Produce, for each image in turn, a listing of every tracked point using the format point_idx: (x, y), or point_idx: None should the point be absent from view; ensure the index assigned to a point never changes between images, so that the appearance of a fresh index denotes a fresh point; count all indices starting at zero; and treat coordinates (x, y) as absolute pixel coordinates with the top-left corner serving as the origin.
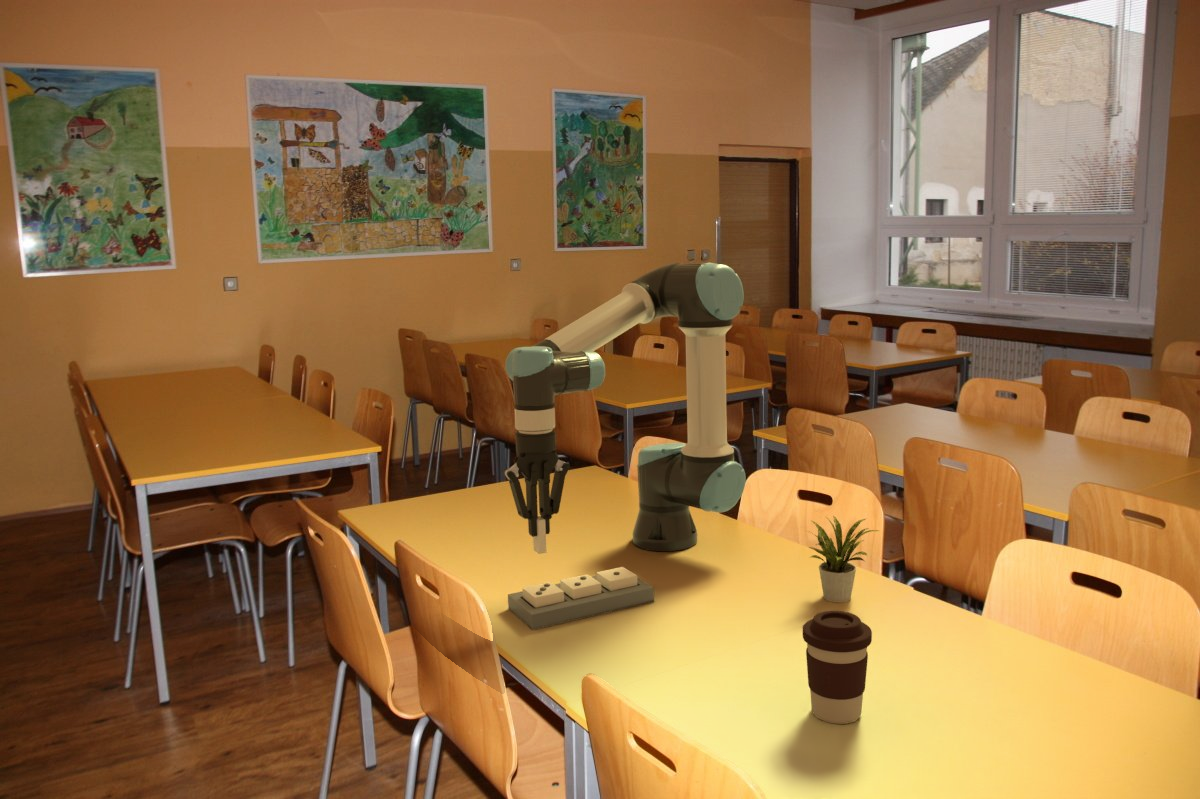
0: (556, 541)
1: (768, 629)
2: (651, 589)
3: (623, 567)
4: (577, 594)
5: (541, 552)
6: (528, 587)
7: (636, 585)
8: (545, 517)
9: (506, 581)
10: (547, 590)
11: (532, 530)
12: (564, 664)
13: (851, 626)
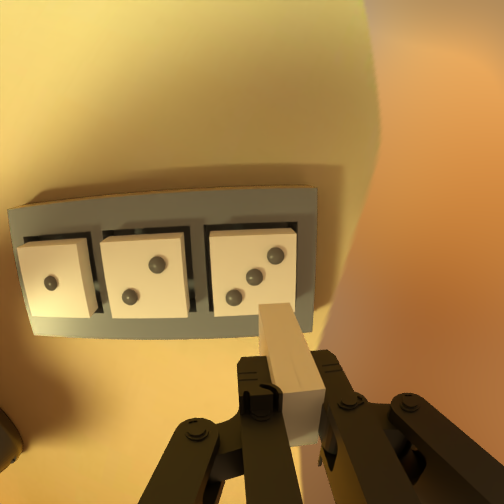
0: (126, 498)
1: None
2: (13, 208)
3: (31, 311)
4: (170, 235)
5: (280, 305)
6: None
7: None
8: (279, 400)
9: None
10: (246, 265)
11: (334, 367)
12: (311, 11)
13: None
